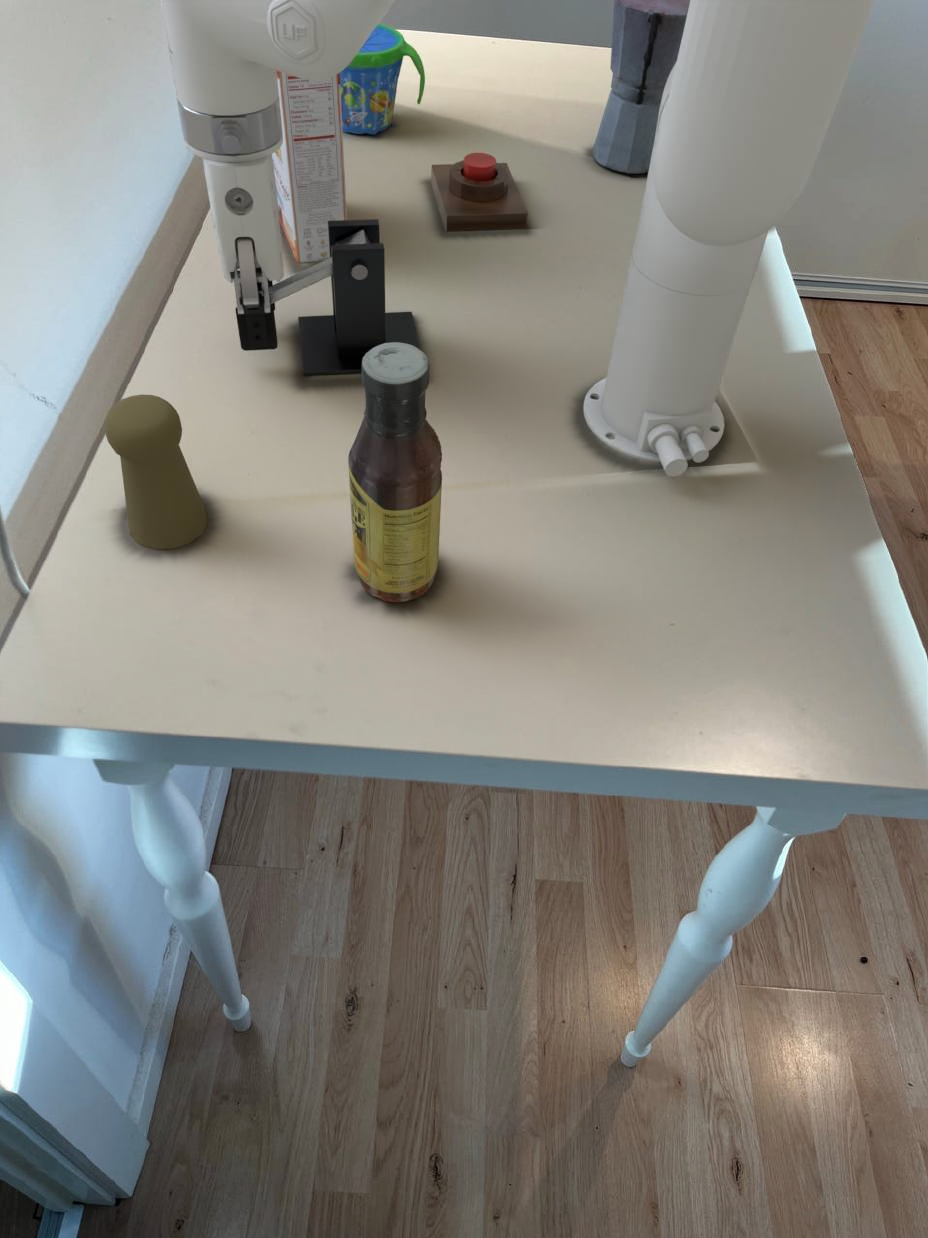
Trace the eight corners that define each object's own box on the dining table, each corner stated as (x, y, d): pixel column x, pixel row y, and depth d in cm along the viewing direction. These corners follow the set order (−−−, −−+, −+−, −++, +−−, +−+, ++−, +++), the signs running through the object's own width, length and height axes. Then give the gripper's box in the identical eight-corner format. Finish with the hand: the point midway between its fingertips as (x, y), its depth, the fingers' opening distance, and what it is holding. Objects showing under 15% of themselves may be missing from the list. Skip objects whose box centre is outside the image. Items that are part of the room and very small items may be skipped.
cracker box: (269, 206, 106) (245, -7, 90) (321, 201, 107) (308, -10, 91) (294, 272, 98) (273, 50, 81) (351, 265, 99) (341, 45, 83)
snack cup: (431, 115, 123) (433, 28, 115) (412, 151, 116) (413, 61, 109) (316, 99, 125) (311, 12, 117) (291, 133, 118) (283, 43, 110)
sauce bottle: (362, 543, 73) (353, 318, 58) (442, 551, 73) (453, 329, 58) (347, 606, 69) (332, 383, 54) (431, 616, 69) (441, 394, 54)
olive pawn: (207, 492, 76) (183, 379, 68) (207, 546, 72) (182, 433, 64) (130, 498, 75) (96, 384, 67) (126, 552, 72) (89, 439, 63)
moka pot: (664, 138, 122) (702, -42, 107) (669, 195, 113) (711, 5, 97) (591, 131, 123) (618, -50, 107) (589, 187, 113) (619, -4, 97)
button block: (525, 232, 105) (529, 197, 102) (446, 234, 104) (447, 199, 101) (505, 180, 113) (508, 146, 110) (431, 182, 111) (431, 148, 108)
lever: (257, 331, 83) (243, 310, 81) (256, 300, 86) (242, 278, 84) (379, 273, 81) (367, 250, 79) (373, 243, 84) (361, 220, 82)
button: (497, 182, 105) (499, 166, 103) (465, 183, 104) (466, 167, 103) (491, 167, 107) (493, 151, 106) (460, 168, 106) (461, 152, 105)
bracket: (304, 384, 86) (293, 264, 77) (299, 328, 91) (287, 210, 82) (424, 377, 87) (426, 259, 78) (411, 322, 93) (412, 206, 84)
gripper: (286, 172, 67) (306, 384, 81) (276, 74, 78) (295, 276, 92) (177, 175, 66) (216, 389, 80) (183, 75, 76) (216, 279, 90)
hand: (258, 327), depth 86 cm, fingers open, 5 cm apart
